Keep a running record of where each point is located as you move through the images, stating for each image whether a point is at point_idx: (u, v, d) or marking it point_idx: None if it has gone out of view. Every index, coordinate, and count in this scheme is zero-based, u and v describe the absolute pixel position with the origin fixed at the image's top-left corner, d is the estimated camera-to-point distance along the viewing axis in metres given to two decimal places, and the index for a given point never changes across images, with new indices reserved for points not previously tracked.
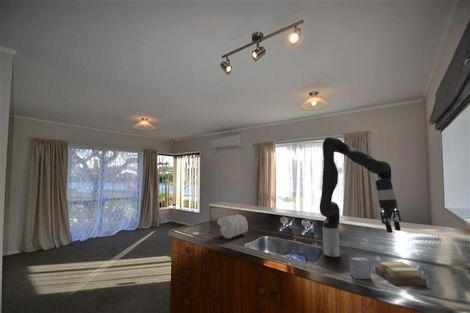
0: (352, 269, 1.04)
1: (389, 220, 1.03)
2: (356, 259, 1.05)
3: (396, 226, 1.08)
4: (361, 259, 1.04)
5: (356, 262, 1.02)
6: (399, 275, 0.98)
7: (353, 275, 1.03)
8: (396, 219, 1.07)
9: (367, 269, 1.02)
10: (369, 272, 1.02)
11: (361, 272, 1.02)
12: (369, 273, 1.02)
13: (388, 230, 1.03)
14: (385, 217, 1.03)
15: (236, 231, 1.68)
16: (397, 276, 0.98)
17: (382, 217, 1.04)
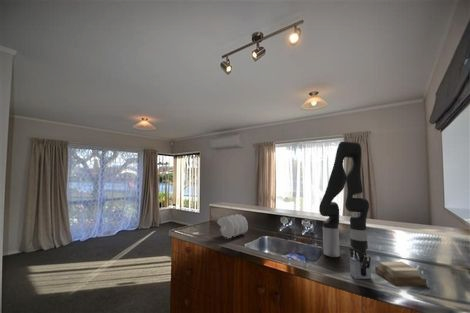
0: (352, 269, 1.04)
1: None
2: (356, 259, 1.05)
3: None
4: None
5: (356, 262, 1.02)
6: (399, 275, 0.98)
7: (353, 275, 1.03)
8: (360, 262, 1.03)
9: (367, 269, 1.02)
10: (369, 272, 1.02)
11: None
12: (369, 273, 1.02)
13: None
14: None
15: (236, 231, 1.68)
16: (397, 276, 0.98)
17: None
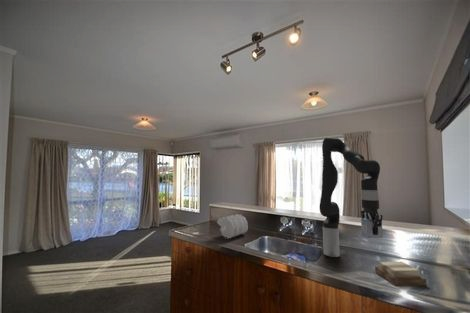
0: (364, 229, 1.05)
1: None
2: (367, 219, 1.06)
3: None
4: None
5: (368, 222, 1.04)
6: (399, 275, 0.98)
7: (365, 235, 1.05)
8: (372, 221, 1.04)
9: (378, 229, 1.03)
10: (381, 231, 1.03)
11: (372, 231, 1.03)
12: (381, 232, 1.03)
13: None
14: None
15: (236, 231, 1.68)
16: (397, 276, 0.98)
17: None
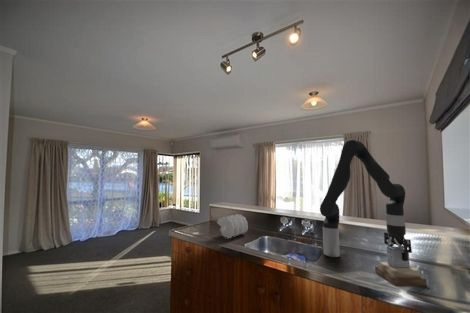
0: (390, 258, 1.03)
1: (388, 242, 1.08)
2: (393, 247, 1.04)
3: None
4: (399, 248, 1.03)
5: (394, 251, 1.01)
6: (399, 275, 0.98)
7: (391, 264, 1.02)
8: (400, 247, 1.01)
9: None
10: (408, 261, 1.01)
11: (399, 261, 1.01)
12: (408, 262, 1.01)
13: None
14: None
15: (236, 231, 1.68)
16: (397, 276, 0.98)
17: None
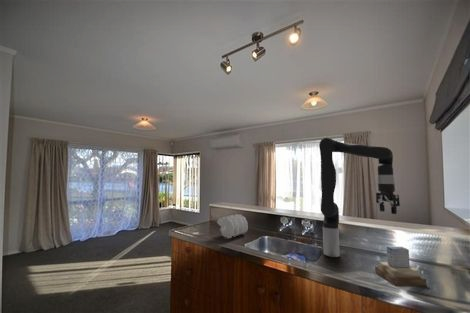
0: (390, 258, 1.03)
1: (379, 200, 1.20)
2: (393, 247, 1.04)
3: None
4: (399, 248, 1.03)
5: (394, 251, 1.01)
6: (399, 275, 0.98)
7: (391, 264, 1.02)
8: (390, 203, 1.13)
9: (405, 258, 1.01)
10: (408, 261, 1.01)
11: (399, 261, 1.01)
12: (408, 262, 1.01)
13: None
14: None
15: (236, 231, 1.68)
16: (397, 276, 0.98)
17: None
